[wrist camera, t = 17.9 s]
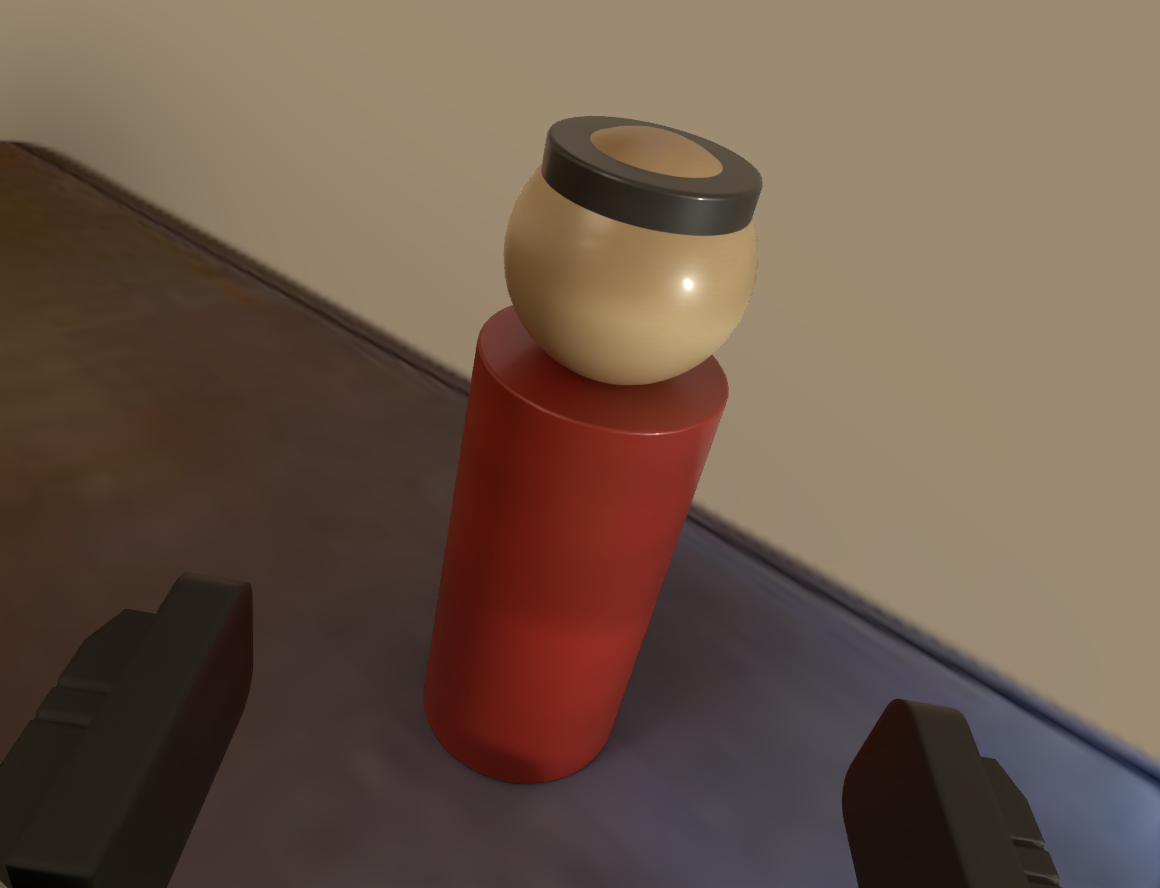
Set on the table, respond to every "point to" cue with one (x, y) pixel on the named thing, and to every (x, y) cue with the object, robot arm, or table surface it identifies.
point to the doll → (585, 437)
